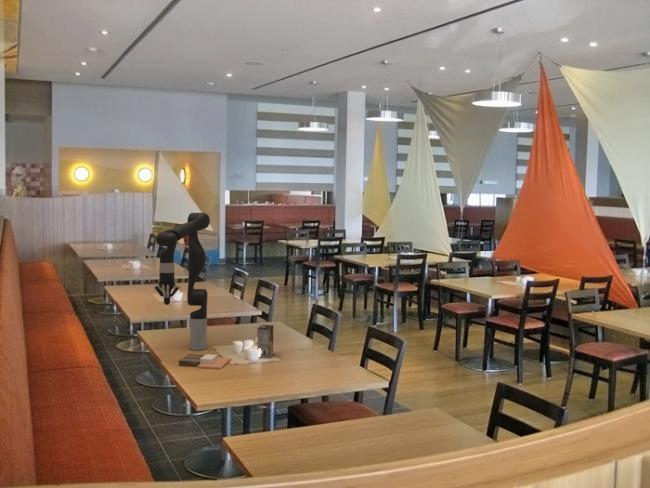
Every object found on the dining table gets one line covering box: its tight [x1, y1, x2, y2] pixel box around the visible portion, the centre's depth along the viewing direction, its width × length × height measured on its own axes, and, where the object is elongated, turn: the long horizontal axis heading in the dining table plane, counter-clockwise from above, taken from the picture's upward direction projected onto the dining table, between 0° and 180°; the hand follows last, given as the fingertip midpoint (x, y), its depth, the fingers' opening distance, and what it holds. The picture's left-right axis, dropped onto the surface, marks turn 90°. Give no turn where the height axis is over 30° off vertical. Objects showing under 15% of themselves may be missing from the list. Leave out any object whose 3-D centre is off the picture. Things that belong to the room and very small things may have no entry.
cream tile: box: [200, 353, 218, 364], centre depth 350 cm, size 9×6×2 cm, turn 171°
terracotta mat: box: [197, 356, 232, 370], centre depth 350 cm, size 18×12×1 cm, turn 172°
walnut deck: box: [178, 353, 205, 368], centre depth 351 cm, size 14×10×2 cm
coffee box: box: [257, 324, 274, 359], centre depth 366 cm, size 9×6×16 cm
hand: (167, 304), depth 354 cm, fingers closed
